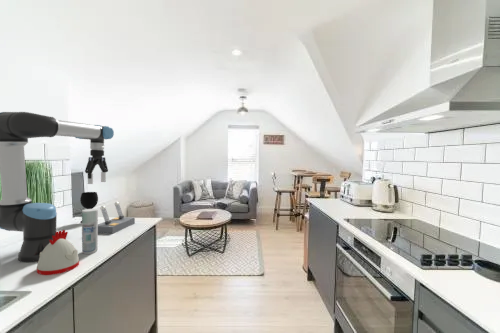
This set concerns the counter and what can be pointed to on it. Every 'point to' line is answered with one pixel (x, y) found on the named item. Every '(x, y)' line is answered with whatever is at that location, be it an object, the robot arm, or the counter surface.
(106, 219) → the lever near
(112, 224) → the switch box
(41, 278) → the counter surface
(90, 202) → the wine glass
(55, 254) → the white chicken hat
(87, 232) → the spray can
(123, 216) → the lever far
